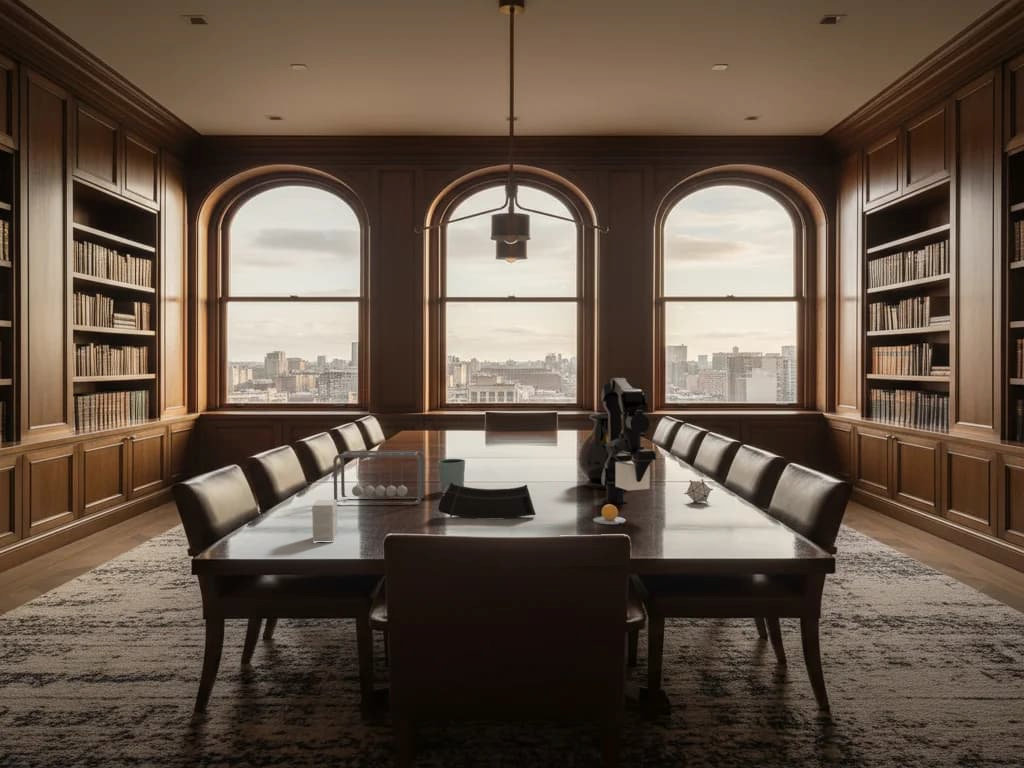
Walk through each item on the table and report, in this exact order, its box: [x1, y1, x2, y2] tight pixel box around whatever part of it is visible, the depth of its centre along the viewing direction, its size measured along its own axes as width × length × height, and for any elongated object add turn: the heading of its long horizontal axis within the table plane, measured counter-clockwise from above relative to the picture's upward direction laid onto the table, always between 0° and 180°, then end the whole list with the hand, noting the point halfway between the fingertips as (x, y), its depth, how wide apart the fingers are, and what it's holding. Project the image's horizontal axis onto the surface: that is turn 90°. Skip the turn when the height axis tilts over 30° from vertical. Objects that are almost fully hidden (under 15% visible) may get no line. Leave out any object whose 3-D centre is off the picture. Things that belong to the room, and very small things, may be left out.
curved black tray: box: [437, 482, 536, 519], centre depth 221 cm, size 17×3×30 cm
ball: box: [601, 503, 619, 521], centre depth 216 cm, size 5×5×5 cm
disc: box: [592, 515, 627, 525], centre depth 216 cm, size 10×10×1 cm
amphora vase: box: [578, 413, 634, 490], centre depth 273 cm, size 22×22×28 cm
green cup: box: [437, 458, 466, 493], centre depth 263 cm, size 10×10×12 cm
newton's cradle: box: [332, 450, 426, 505], centre depth 245 cm, size 30×10×18 cm, turn 88°
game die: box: [683, 478, 714, 505], centre depth 241 cm, size 9×8×10 cm
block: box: [615, 461, 651, 492], centre depth 218 cm, size 8×8×8 cm
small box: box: [311, 499, 338, 542], centre depth 195 cm, size 8×6×10 cm
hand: (631, 479), depth 218 cm, fingers closed on block, 8 cm apart
